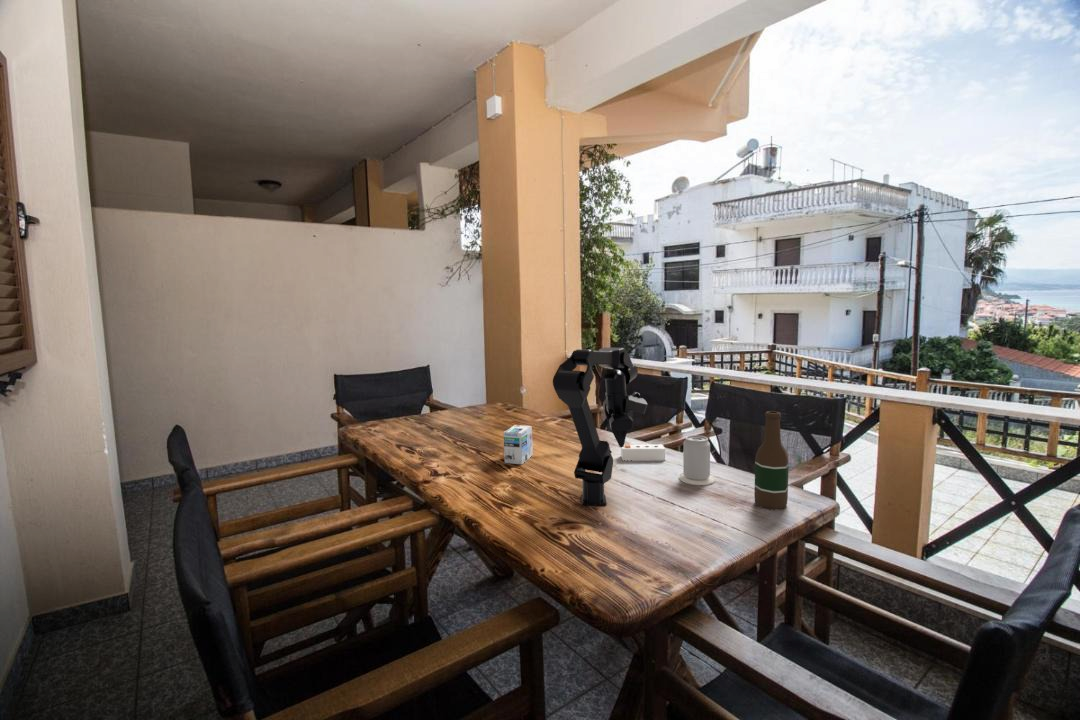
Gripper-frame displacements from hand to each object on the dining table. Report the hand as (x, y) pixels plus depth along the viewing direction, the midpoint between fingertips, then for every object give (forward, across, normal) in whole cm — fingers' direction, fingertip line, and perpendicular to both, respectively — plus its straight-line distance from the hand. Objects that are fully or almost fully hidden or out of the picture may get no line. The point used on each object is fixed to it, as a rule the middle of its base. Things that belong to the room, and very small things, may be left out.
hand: (619, 440), depth 143 cm
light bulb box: (+13, +20, +32) cm, 40 cm away
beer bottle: (+12, -22, -35) cm, 43 cm away
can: (+13, -3, -22) cm, 25 cm away
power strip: (+15, +18, -10) cm, 25 cm away
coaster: (+13, -3, -22) cm, 26 cm away
